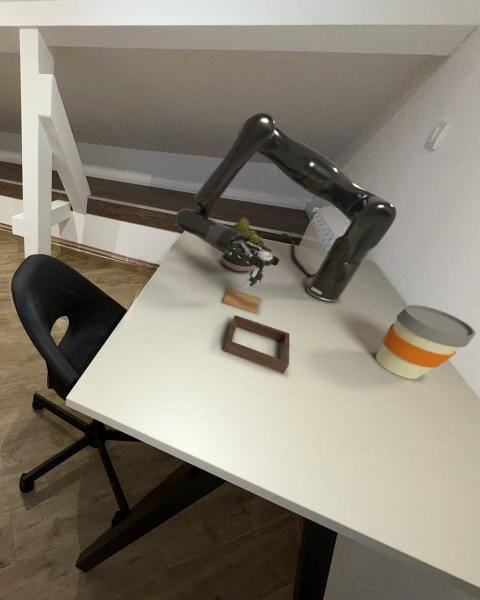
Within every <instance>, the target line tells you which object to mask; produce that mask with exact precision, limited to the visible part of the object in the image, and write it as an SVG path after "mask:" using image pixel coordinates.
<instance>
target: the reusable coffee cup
mask: <svg viewBox="0 0 480 600" xmlns="http://www.w3.org/2000/svg"><path fill="white" fill-rule="evenodd" d="M475 336H476V331H475V329H474V328H473V327H472V326H471V325H469V324H468V323H467V322H466V321H464V320H462V319H460V318H458V317H456V316H455V315H453V314H450V313H447V312H445V311H442V310H440V309H436V308H434V307H430V306H427V305H420V304H408V305H406V306H405V307H404V308H403V309H402V310H401V311H400V312H399V313H398V314H397V315H396V320H395V322H394V323H391V325H390V326H389V328H388V330H387V332H386V333H385V335H384V337H383V339H382V345H381V346H380V348H379V350H378V351H377V353H376V355H375V359H376V361H377V363H378V364H379V365H380V366H382V368H384V369H385V370H387V371H388V372H391V373H393V374H394V375H397V376H399V377H402V378H405V379H410V380H411V379H412V380H416V379H419V378H420V377H422V376H423V375H424V374H426V373H427V372H428V371H430V370H432V369H434V368H438V367H440V366H441V365H442V364H444V363H445V362H447V361H448V360H450V359H451V358H452V357H454V356H455V355H457V351H458V350H459V349H461V348H464V347H467V346H468V345H469V344H470V342H471V341H472V339H473V338H474V337H475Z"/></svg>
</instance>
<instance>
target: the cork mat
mask: <svg viewBox="0 0 480 600" xmlns="http://www.w3.org/2000/svg"><path fill="white" fill-rule="evenodd" d="M259 301H260V297H258V296H255V295H251V294H248V293H245V292H242V291H238V290H236V289H232V288H229V287H228V288H227V289H226V292H225V295H224V297H223V300H222V303H223V304H226V305H229V306H232V307H235V308H239V309H240V310H245V311H247V312H250V313H253V314H257V313H258V307H259Z"/></svg>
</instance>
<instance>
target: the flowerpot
mask: <svg viewBox="0 0 480 600" xmlns="http://www.w3.org/2000/svg"><path fill="white" fill-rule="evenodd" d="M233 229H234V230H236V231H238V232H240V233H242V234H244V236H245V240H246V242H250V243H252V244H254V245H255V244H256V242H260V243H261V244H263V245H264V246H266V244H265V241H263V240H262V236H261V235H258V232H257V233H256V229H255V228H252V227H251V226H250V222H249V221H248V218H245V217H241V218H240V219H239V220H238V221H236V222H235V223H233ZM249 229H251V230H249ZM255 253H256V252H255ZM255 253H254V254H255ZM254 254H253V255H254ZM220 258H221V260H220V261H221V263H222V266H223V267H224V269H225V270H228V271H230V272H233V273H237V274H240V273H241V274H245V273H249V271H250V272H251V271H252V270H254V269H255V266H254V265H252V264H251V263H246V262H244V263H240V262H238V261H236V260H234V259H231V258H229V257H227V256H225V255H224V253H223V254H222V255H221V257H220ZM237 258H239V257H237ZM239 259H240V258H239Z"/></svg>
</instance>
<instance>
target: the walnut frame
mask: <svg viewBox="0 0 480 600" xmlns="http://www.w3.org/2000/svg"><path fill="white" fill-rule="evenodd" d="M236 327H237V328H239V329H241V330H244V331H247V332H249V333H250V332H251V333H253V334H256V335H259V336H262V337H265V338H268V339H270V340H273V341H276V342H279V343H280V348H279V357H276V356H272V355H270V354H268V353H265V352H261V351H259V350H256V349H253V348H251V347H248V346H245V345H242V344H239V343H237V342H235V341H233V339H234V335H235V331H236ZM223 352H226V353H228V354H231V355H233V356H237V357H239V358H241V359H243V360H246V361H249V362H252V363H255V364H257V365H260V366H262V367H264V368H268V369H270V370H273V371H275V372H278V373H280V374H285V372H286V371H287V369H288V367H290V333H289V332H287V331H284V330H281V329H278V328H275V327H272V326H270V325H266V324H264V323H260V322H257V321H255V320H251V319H248V318H245V317H242V316H239V315H236V314H234V316H233V318H232V320H231V322H230V325H229V330H228V332H227V336H226V340H225V344H224V347H223Z"/></svg>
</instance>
